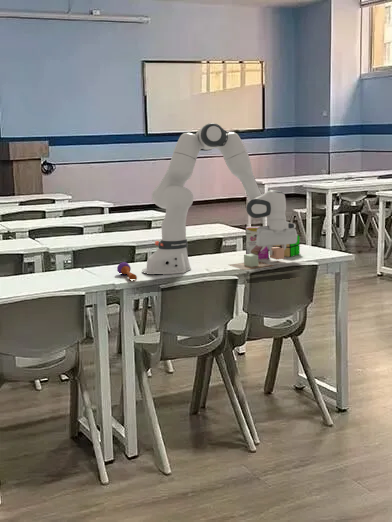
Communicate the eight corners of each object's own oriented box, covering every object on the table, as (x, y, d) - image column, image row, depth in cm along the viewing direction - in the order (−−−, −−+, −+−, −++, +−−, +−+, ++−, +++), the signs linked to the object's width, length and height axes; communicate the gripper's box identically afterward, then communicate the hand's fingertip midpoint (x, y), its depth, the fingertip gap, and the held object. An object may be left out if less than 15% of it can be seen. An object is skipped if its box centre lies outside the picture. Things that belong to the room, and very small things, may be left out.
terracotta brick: (276, 259, 326) (276, 249, 326) (269, 257, 332) (269, 247, 331) (284, 258, 328) (284, 248, 327) (277, 256, 334) (277, 246, 333)
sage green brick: (250, 266, 320) (250, 256, 319) (244, 264, 325) (243, 254, 325) (258, 265, 321) (258, 255, 320) (251, 263, 327) (251, 253, 326)
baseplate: (243, 272, 313) (243, 269, 313) (227, 267, 328) (227, 264, 327) (275, 268, 319) (275, 266, 319) (258, 263, 334) (258, 261, 334)
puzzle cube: (282, 253, 361) (282, 233, 360) (299, 254, 356) (299, 234, 354) (272, 256, 354) (272, 236, 352) (290, 257, 348) (290, 237, 346)
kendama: (124, 273, 302) (114, 263, 320) (128, 286, 304) (117, 275, 322) (138, 269, 304) (127, 259, 322) (141, 282, 305) (130, 271, 324)
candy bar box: (246, 261, 341) (245, 227, 338) (246, 259, 346) (245, 226, 343) (269, 261, 340) (268, 227, 337) (269, 259, 345) (268, 225, 342)
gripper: (259, 227, 321) (260, 257, 323) (298, 224, 329) (299, 253, 331) (253, 226, 327) (253, 255, 329) (291, 223, 334) (292, 251, 337)
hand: (276, 254), depth 330 cm, fingers closed on terracotta brick, 4 cm apart
